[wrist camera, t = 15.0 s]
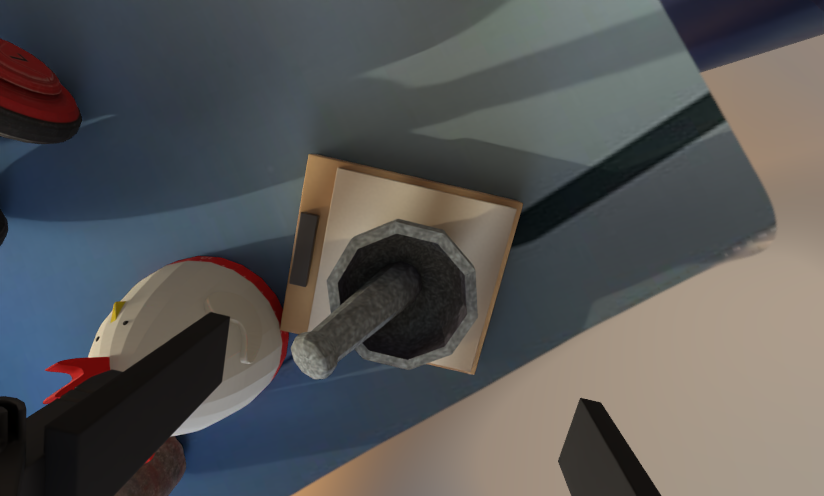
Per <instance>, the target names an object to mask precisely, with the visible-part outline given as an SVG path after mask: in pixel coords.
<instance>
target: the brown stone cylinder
mask: <svg viewBox="0 0 824 496" xmlns="http://www.w3.org/2000/svg"><path fill="white" fill-rule="evenodd" d="M185 460H186V459H185V456H184V452H183V447H182V445H181V444H180V443H179V442H178V440H177V439H176V437H175V436H171V437H169V438H168V440H167V441H166V442H165V443H164V444H163V445H162V446H161V447H160V448H159V449H158V450H157V451H156V452H155V454H154V456H153V458H152V460H151V461H149V462H147V463H145V464H144V465H143V466H142V467H141V468H140V469H139V470H138V471H137V472H136V473H135V474H134V475H133V476H132V477H131V478H130V479H129V480H128V482H127V483H126V484H125V485H124V486H123V487H122V488H121V489H120V490H119V491H118V492H117V493H116V494H115V495H114V496H168V495H169V494H170V493H171V491H172V490H173V489H174V487H175V486H176V485H177V483H178V482H179V481H180V480H181V478H182V476H183V474H184V472H185V469H186V462H185Z"/></svg>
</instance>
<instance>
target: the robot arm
mask: <svg viewBox="0 0 824 496" xmlns="http://www.w3.org/2000/svg"><path fill="white" fill-rule="evenodd" d="M229 323H230V316H226V315H222V314H217V313H213V312H209V313H208V314H206V315H205V316H203V317H202V318H200V319H199V320H198V321H196V322H195V323H193V324H192V325H190V326H189V327H187V328H186V329H185V330H183V331H182V332H180V333H179V334H177V335H176V336H174V337H173V338H171V339H170V340H169V341H167V342H166V343H164V344H163V345H161V346H160V347H158V348H157V349H155V350H154V351H153V352H151V353H150V354H148V355H147V356H145V357H144V358H142V359H141V360H140V361H138V362H137V363H135V364H134V365H132V366H131V367H129V368H128V369H126V370H125V371H124V372H122V371H118V370H113V369H111V370H109V371H106V372H103V373H100V374H98V375H95V376H92V377H90V378H89V379H87V380H85V381H84V382H82V383H81V384H79V385H78V386H76V387H75V388H74V390H72V389H71V390H70V391H68V392H67V393H65V394H64V395H62V396H61V398H60V399H58V398H57V399H56V400H54V401H53V402H51V403H49V404H48V405H46V406H45V407H43V408H42V409H40V410H39V411H37V412H35V413H34V414H32V415H31V416H29V417H28V418H26V406H25V403H24V402H23V401H21V400H19V399H17V398H12V397H6V396H2V397H0V496H114V495H115V494H116V493H117V492H118V491H119V490H120V489H121V488H122V487H123V486H124V485H125V484H126V483H127V482H128V480H129V479H130V478H131V477H132V476H133V475H134V474H135V473H136V472H137V471H138V470H139V469H140V468H141V467H142V466H143V465H144V464H145V463H146V462H147V461H148V459H149V458H150V457H151V456H152V455H153V454H154V453H155V452H156V451H157V450H158V449H159V448H160V447H161V446H162V445H163V444H164V443H165V442H166V441H167V440H168V438H169V437H170V436H171V435H172V434H173V433H174V432H175V431H176V430H177V429H178V428H179V427H180V426H181V425H182V424H183V423H184V422H185V421H186V420H187V419H188V417H189V416H190V415H191V414H192V413H193V412H194V411H195V410H196V409H197V408H198V407H199V406H200V405H201V404H202V403H203V402H204V401H205V400H206V399H207V398H208V396H209V395H210V394H211V393H212V392H213V391H214V390H215V389H216V388H217V387H218V386H219V385H220V384H221V383H222V379H223V371H224V363H225V355H226V347H227V339H228V331H229ZM558 462H559V465H560V468H561V470H562V473H563V475H564V478H565V481H566V483H567V486H568V488H569V491H570V493H571V496H661V495H660V493H659V491H658V490H657V488H656V487H655V485H654V484H653V482H652V481H651V479H650V478H649V476H648V474H647V473H646V471H645V470H644V468H643V467H642V465H641V464H640V462H639V461H638V459H637V458H636V456H635V454H634V453H633V451H632V450H631V448H630V447H629V445H628V444H627V442H626V441H625V439H624V437H623V436H622V434H621V433H620V431H619V430H618V428H617V427H616V425H615V423H614V422H613V420H612V419H611V417H610V416H609V414H608V413H607V411H606V410H605V408H604V407H603V405H602V404H601V403H600V402H596V401H592V400H588V399H583V398H580V400H579V403H578V406H577V409H576V412H575V414H574V417H573V420H572V423H571V426H570V429H569V431H568V434H567V437H566V440H565V443H564V446H563V448H562V451H561V454H560V457H559V460H558Z"/></svg>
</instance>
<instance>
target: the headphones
mask: <svg viewBox="0 0 824 496" xmlns="http://www.w3.org/2000/svg"><path fill="white" fill-rule="evenodd" d="M81 122H82V116H81V113H80V110H79V108H78V106H77V105H76V102H75V99H74V98H73V97H72V95H71V94H70V93H69V91H68V90H67V89H66V88H65V87H64V86H63V85H61V84H60V82H59V79H58V78H57V76H56V75H55V74H54V73H53V72H52V71H51V70H50V69H49V68H48V67H47V66H46V65H45V64H44V63H43V62H41V61H40V60H39V59H37V58H36V57H34V56H33V55H32V54H30V53H29V52H27V51H25V50H23V49H21V48H19V47H18V46H16V45H14V44H12V43H10V42H8V41H5V40H2V39H0V136H2V137H5V138H9V139H13V140H17V141H22V142H26V143H35V144H53V143H60V142H64V141H66V140H68V139H71V138H72V137H73V136H74V135H75V134H76V133H77V131H78V129H79V127H80V124H81ZM7 232H8V222H7V219H6V217H5V216H4V214H3V212H2V210H1V209H0V246H1V245H2V243H3V241H4V239H5V237H6V235H7Z"/></svg>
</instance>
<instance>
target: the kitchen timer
mask: <svg viewBox="0 0 824 496" xmlns="http://www.w3.org/2000/svg"><path fill="white" fill-rule="evenodd" d="M209 312H213V313H217V314H222V315H226V316H230V323H229V331H228V339H227V347H226V355H225V363H224V371H223V379H222V383H221V384H220V385H219V386H218V387H217V388H216V389H215V390H214V391H213V392H212V393H211V394H210V395H209V396H208V398H207V399H206V400H205V401H204V402H203V403H202V404H201V405H200V406H199V407H198V408H197V409H196V410H195V411H194V412H193V413H192V414H191V415H190V416H189V417H188V419H187V420H186V421H185V422H184V423H183V424H182V425H181V426H180V427H179V428H178V429H177V430H176V431H175V432H174V433H173V434H172V435H171V436H176V435H182V434H187V433H192V432H196V431H199V430H201V429H204V428H206V427H208V426H210V425H212V424H214V423H216V422H218V421H220V420H222V419H223V418H225V417H227V416H229V415H231V414H233V413H234V412H236V411H238V410H240V409H241V408H243V407H244V406H246V405H247V404H249V403H250V402H251V401H252V400H253V399H254V398H255V397H256V396H257V395H258V394H259V393H260V392H261V391H262V390H263V389H264V388H265V387H266V386H267V385H268V384H269V383H270V382H271V381H272V380H273V378H274V377H275V375H276V374H277V373H278V371H279V369H280V367H281V365H282V363H283V361H284V359H285V357H286V353H287V346H288V339H289V333H288V332H287V331H282V330H280V325H281V319H282V313H283V309H282V306H281V304H280V302H279V300H278V298H277V296H276V294H275V293H274V292H273V291H272V290H271V289H270V287H269V286H268V285H267V284H266V283H265V282H264V280H263V279H262V278H261V277H259V276H258V275H256V274H255V273H253V272H252V271H250V270H249V269H247V268H246V267H245V266H243V265H241V264H238V263H235V262H232V261H229V260H227V259H224V258H221V257H207V256H196V257H192V258H187V259H183V260H179V261H176V262H173V263H171V264H169V265H166V266H164V267H163V268H161V269H159V270H158V271H156V272H154V273H153V274H151V275H149V276H148V277H146V278H144V279H143V280H141V281H140V282H139V283H137V284H136V285H135V286H134V287H133V288H132V289H131V290H130V291H129V292H128V294H127V295H126V296H125V297H124V298H123V299H122V300H121V301H120V302H115V303H114V307H113V311H112V312H111V313H110V314H109V315H108V317H107V318H106V319H105V320H104V322H103V323H102V324H101V326H100V328H99V330H98V332H97V334H96V337H95V339H94V342H93V345H92V348H91V350H90V353H89V356H88V358H75V359H68V360H63V361H60V362H57V363H56V364H54V365H52V366H51V367H49V368H47V369H46V370H45V371H50V372H61V373H67V374H70V375H71V377H72V381H71V382H70V383H68V384H67V385H65V386H64V387H62V388H61V389H59V390H58V391H56V392H55V393H53V394H52V395H51V396H49V397H48V398H47V399H45V400H44V401H43V404H49V403H51V402H53V401H54V400H56V399H57V398H58V399H60V398H61V396H62V395H64V394H65V393H67V392H68V391H70V390H71V389H72V390H74V388H75V387H76V386H78V385H79V384H81V383H82V382H84V381H85V380H87V379H89V378H90V377H92V376H95V375H98V374H100V373H103V372H106V371H109V370H111V369H113V370H118V371H122V372H124V371H125V370H126V369H128V368H129V367H131V366H132V365H134V364H135V363H137V362H138V361H140V360H141V359H142V358H144V357H145V356H147V355H148V354H150V353H151V352H153V351H154V350H155V349H157V348H158V347H160V346H161V345H163V344H164V343H166V342H167V341H169V340H170V339H171V338H173V337H174V336H176V335H177V334H179V333H180V332H182V331H183V330H185V329H186V328H187V327H189V326H190V325H192V324H193V323H195V322H196V321H198V320H199V319H200V318H202V317H203V316H205V315H206V314H208V313H209ZM171 436H170V437H171ZM154 454H155V453H154ZM154 454H153V455H152V456H151V457H150V458H149V459H148V461H147V462H149V461H151V460H152V458H153V456H154ZM147 462H146V463H147Z"/></svg>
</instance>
